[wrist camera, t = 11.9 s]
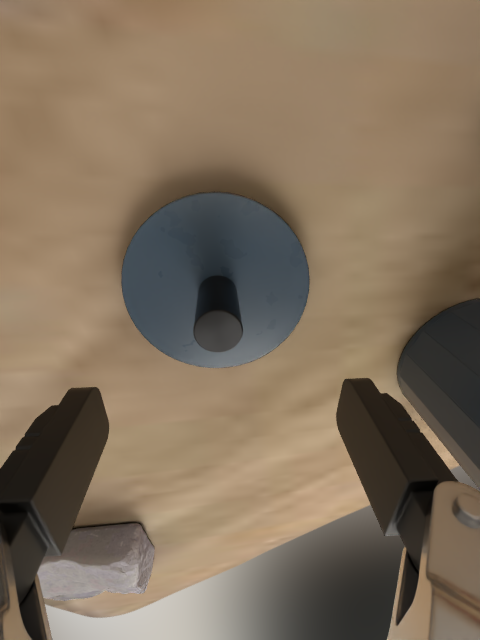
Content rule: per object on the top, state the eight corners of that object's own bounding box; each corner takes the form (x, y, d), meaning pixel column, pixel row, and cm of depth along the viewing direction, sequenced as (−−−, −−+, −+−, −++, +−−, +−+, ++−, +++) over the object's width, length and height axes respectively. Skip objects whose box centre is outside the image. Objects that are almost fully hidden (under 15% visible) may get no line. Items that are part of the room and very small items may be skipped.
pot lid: (212, 141, 16) (211, 131, 11) (339, 283, 20) (382, 327, 15) (89, 289, 19) (41, 338, 14) (220, 383, 24) (222, 448, 18)
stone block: (162, 545, 37) (143, 518, 31) (155, 598, 33) (132, 579, 27) (66, 551, 37) (26, 525, 31) (48, 604, 33) (-1, 587, 27)
